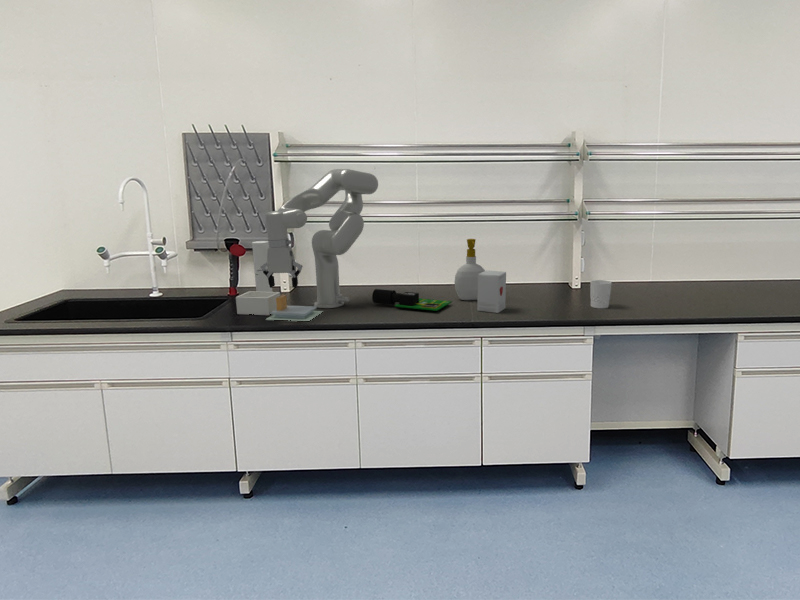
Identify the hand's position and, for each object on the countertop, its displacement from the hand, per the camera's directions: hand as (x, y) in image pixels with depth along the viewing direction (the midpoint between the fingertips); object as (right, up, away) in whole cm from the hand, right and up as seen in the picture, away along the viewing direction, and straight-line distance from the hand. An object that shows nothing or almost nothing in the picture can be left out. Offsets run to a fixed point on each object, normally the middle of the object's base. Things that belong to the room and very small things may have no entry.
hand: (283, 286), depth 218 cm
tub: (-12, -10, +10) cm, 18 cm away
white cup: (+125, -8, +3) cm, 126 cm away
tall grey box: (-16, -4, +37) cm, 41 cm away
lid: (+4, -11, +1) cm, 12 cm away
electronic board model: (+50, -8, +12) cm, 52 cm away
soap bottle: (+76, -5, +20) cm, 79 cm away
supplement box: (+82, -9, +3) cm, 83 cm away
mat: (+4, -12, +1) cm, 12 cm away
